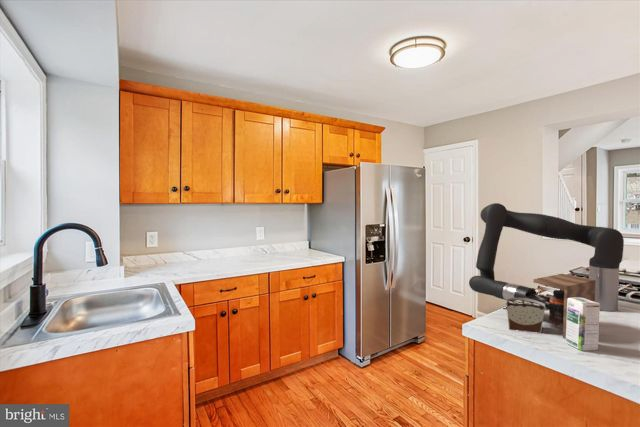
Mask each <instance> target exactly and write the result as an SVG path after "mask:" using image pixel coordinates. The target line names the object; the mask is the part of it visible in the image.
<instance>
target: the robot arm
mask: <svg viewBox="0 0 640 427" xmlns="http://www.w3.org/2000/svg"><path fill="white" fill-rule="evenodd" d="M480 218H481V221H483V222H484V223H485V229H484V234H483V237H482V239H481V240H482V241H481V243H480V246H479V249H478V253H477V256H476V257H477V258H476V263H475V264H476V265H475V268H476V269H477V270H478V271H479V273H480V275H473V276H471V277H470V279H469V282H468V285H469V288H471V289H470V290H472V291H474V292H476V293H480V294H484V295H488V296H493V297H495V298H498V299H501V300H504V301H507V299H509V298H526V299H532V300H536V301H539V302H542V303H544V304H545V306H546V309H547V311H549V310H552V311H555V312H559V313H563V307H562V306H559V305H555V304H552V303H551V304H550V297H551V296H553V295H554V294H549V293H546V294H545V295H544V294H541V293H540V294H538V293H537V291H536V289H534V288H532V287H528V286H524V285H521V284H517V283H511V282H506V281H501V280H495V277H496V276H495V264H496V257H497V252H498V251H497V250H498V247H499V242H500V238H501V235H502V232H503V229H504V227H505V228H512V229H515V230H518V231H521V232H525V233H529V234H532V235H536V236H540V237H544V238H548V239H555V240H567V241H574V242H577V243H581V244H583V245H587V246H589V247H592V248H594V254H593V256H592V257H590V258H589V262H588V263H589V264H588V279H593V280H596V284H595V302H596V303H600V311H606V312H617V311H618V310H619V288H620V287H619V285H620V264H621V263H622V261H623V257H624V245H625V241H624V236H623V234H622V232H620V231H619V230H618V229H616V228H611V227H605V226H592V225H584V224H578V223H574V222H571V221H570V220H566V219H563V218H561V217H557V216H553V215H552V216H551V215H548V214H541V213H532V212H517V211H512V210H509V209H507V208H506V207H505V206H504V205H503V204H502V203H496V202H495V203H491V204H488V205H486V206H485V207H483V208H482V210H481V211H480Z"/></svg>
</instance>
